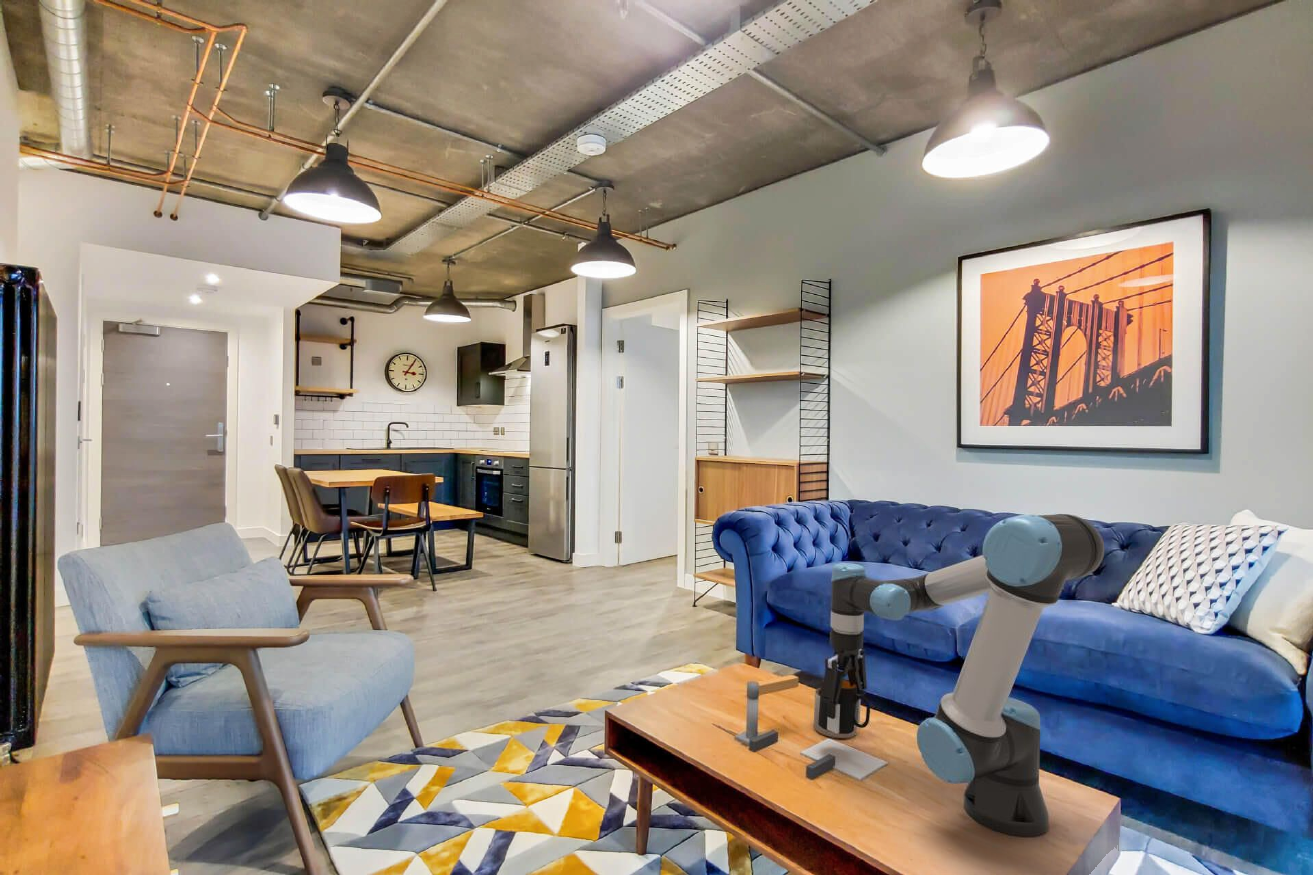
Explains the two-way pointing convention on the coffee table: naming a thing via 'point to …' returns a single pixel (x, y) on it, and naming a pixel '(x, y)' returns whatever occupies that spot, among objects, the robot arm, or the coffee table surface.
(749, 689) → the wooden bar
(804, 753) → the mat
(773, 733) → the dock
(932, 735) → the robot arm
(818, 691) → the planter
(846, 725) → the mug
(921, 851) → the coffee table surface
